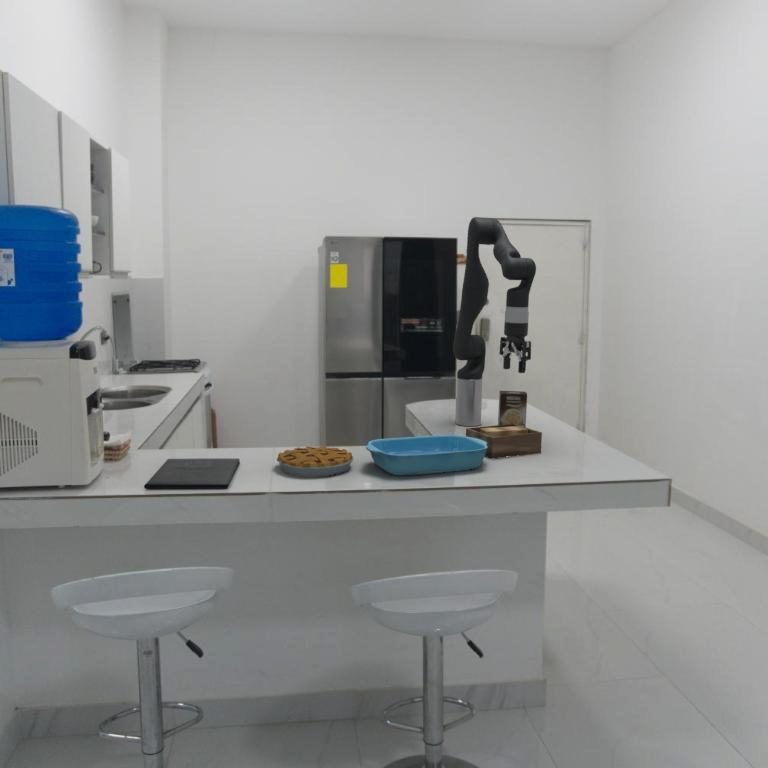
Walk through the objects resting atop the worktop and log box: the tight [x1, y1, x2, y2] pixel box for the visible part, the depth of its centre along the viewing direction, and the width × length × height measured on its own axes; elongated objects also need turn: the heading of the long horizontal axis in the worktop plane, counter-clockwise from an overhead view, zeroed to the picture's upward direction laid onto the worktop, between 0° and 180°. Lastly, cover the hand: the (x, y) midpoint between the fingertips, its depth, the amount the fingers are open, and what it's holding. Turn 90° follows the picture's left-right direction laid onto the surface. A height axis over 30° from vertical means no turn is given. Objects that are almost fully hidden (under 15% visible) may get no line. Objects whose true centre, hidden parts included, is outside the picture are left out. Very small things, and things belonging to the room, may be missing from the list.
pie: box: [276, 445, 354, 478], centre depth 213 cm, size 22×22×5 cm
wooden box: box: [465, 424, 543, 459], centre depth 235 cm, size 15×18×6 cm
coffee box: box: [497, 390, 528, 428], centre depth 251 cm, size 9×6×16 cm
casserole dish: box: [365, 434, 487, 476], centre depth 216 cm, size 37×22×7 cm, turn 111°
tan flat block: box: [480, 426, 528, 437], centre depth 234 cm, size 14×6×3 cm, turn 106°
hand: (513, 370), depth 240 cm, fingers open, 8 cm apart
